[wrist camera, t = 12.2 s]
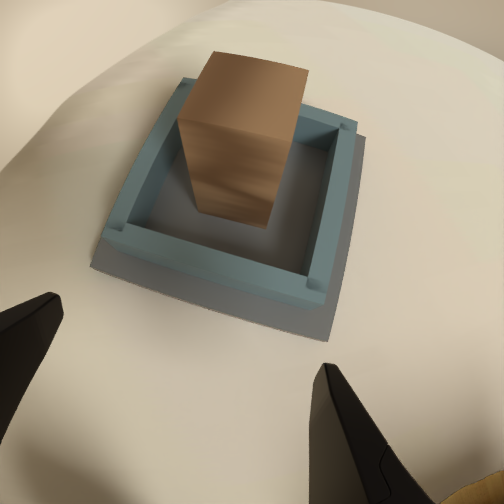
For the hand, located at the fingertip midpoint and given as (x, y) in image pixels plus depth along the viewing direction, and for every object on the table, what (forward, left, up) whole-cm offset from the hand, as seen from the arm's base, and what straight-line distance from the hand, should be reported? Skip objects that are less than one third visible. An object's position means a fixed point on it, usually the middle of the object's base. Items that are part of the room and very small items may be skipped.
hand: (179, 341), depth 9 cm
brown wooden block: (+5, -8, -9) cm, 14 cm away
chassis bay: (+5, -8, -10) cm, 14 cm away
